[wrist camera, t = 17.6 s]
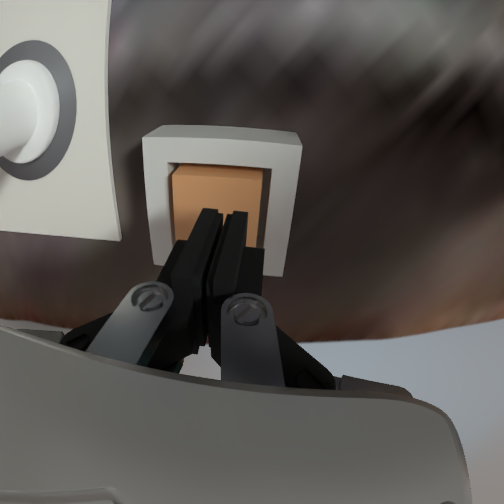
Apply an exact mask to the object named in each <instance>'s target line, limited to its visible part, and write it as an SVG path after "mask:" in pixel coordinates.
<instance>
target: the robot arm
mask: <svg viewBox="0 0 504 504" xmlns="http://www.w3.org/2000/svg"><path fill="white" fill-rule="evenodd" d="M247 225H248V212H243V211H233V213H232V214H227V216H226V219H225V222H224V225H223V213H218V209H212V208H203V209H202V210H201V213H200V215H199V217H198V219H197V221H196V223H195V225H194V227H193V229H192V231H191V233H190V235H189V238H188V240H180V239H179V240H177V241H176V243H175V245H174V247H173V249H172V251H171V253H170V255H169V257H168V259H167V261H166V263H165V265H164V267H163V269H162V271H161V273H160V275H159V277H158V279H157V281H149V282H144V283H141V284H138V285H137V286H135V287H133V288H132V289H131V290H130V291H129V292H128V294H127V295H126V296H125V298H124V299H123V300H122V302H121V303H120V304H119V306H118V307H117V308H116V310H115V311H114V312H112V313H110V314H108V315H106V316H103V317H101V318H99V319H96V320H94V321H92V322H89V323H87V324H85V325H82V326H80V327H78V328H75V329H73V330H71V331H70V332H68V333H67V334H66V335H64V333H63V332H59V331H43V330H29V329H17V330H15V329H12V328H8V327H4V326H0V504H472V496H471V487H470V481H469V474H468V469H467V464H466V459H465V455H464V451H463V447H462V444H461V441H460V438H459V435H458V433H457V430H456V428H455V426H454V424H453V422H452V421H451V419H450V418H449V417H448V415H447V414H446V413H444V412H443V411H442V410H441V409H439V408H437V407H436V406H434V405H432V404H429V403H427V402H424V401H421V400H418V399H415V398H413V397H412V395H411V393H409V392H408V391H407V390H406V389H405V388H402V387H399V386H394V385H389V384H384V383H379V382H373V381H368V380H364V379H359V378H354V377H350V376H346V375H343V376H342V378H339V377H335V376H333V375H332V374H331V373H330V372H329V371H328V369H327V368H325V367H324V366H323V365H322V364H321V363H319V362H318V361H317V360H316V359H315V358H313V357H312V356H311V355H310V354H309V353H307V352H306V351H305V350H304V349H303V348H302V347H300V346H299V345H298V344H297V343H296V342H295V341H293V340H292V339H291V338H290V337H289V336H287V335H286V334H285V333H284V332H283V331H282V330H281V329H279V328H278V327H277V326H276V325H275V319H274V313H273V309H272V306H271V304H270V303H269V302H268V301H267V300H266V299H264V298H263V297H261V290H262V279H263V267H264V255H265V248H256V247H246V238H247ZM207 336H208V338H209V347H211V357H212V358H213V359H214V360H215V361H216V363H217V364H218V365H219V366H220V367H221V380H214V379H208V378H202V377H195V376H189V375H183V374H179V373H180V370H181V368H182V366H183V362H184V358H185V357H186V356H189V355H190V354H198V349H199V346H205V344H206V340H207Z"/></svg>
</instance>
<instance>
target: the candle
mask: <svg viewBox="0 0 504 504" xmlns="http://www.w3.org/2000/svg"><path fill="white" fill-rule="evenodd" d="M59 112H60V103H59V94H58V89H57V86H56V83H55V81H54V79H53V77H52V75H51V73H50V72H49V70H48V69H47V68H46V67H45V66H44V65H42V64H41V63H39V62H37V61H34V60H22V61H17V62H15V63H13V64H11V65H9V66H8V67H6V68H5V69H4V70H3V71H2V72H1V74H0V157H2V156H4V157H5V158H6V159H8V160H9V161H12V162H14V163H27V162H30V161H33V160H34V159H36V158H38V157H39V156H40V155H42V154H43V153H44V152H45V151H46V149H47V148H48V147H49V145H50V144H51V142H52V140H53V138H54V136H55V133H56V130H57V126H58V121H59Z"/></svg>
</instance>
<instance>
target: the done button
mask: <svg viewBox="0 0 504 504" xmlns="http://www.w3.org/2000/svg"><path fill="white" fill-rule="evenodd" d="M262 176H263V168H260V167H248V166H235V165H220V164H202V163H182V164H181V165H180V166H179V167H178V168H177V170H176V171H175V172H174V173H173V174H172V186H173V207H174V224H175V238H176V241H177V240H179V239H180V240H188V238H189V235H190V233H191V231H192V229H193V227H194V225H195V223H196V221H197V219H198V217H199V215H200V213H201V210H202V209H203V208H212V209H218V213H223V225H224V222H225V219H226V216H227V214H232V213H233V211H243V212H248V225H247V238H246V247H256V241H257V231H258V220H259V210H260V199H261V189H262Z"/></svg>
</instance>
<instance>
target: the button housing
mask: <svg viewBox="0 0 504 504" xmlns="http://www.w3.org/2000/svg"><path fill="white" fill-rule="evenodd" d="M142 143H143V162H144V177H145V190H146V202H147V212H148V221H149V230H150V239H151V246H152V254H153V261H154V265H162V266H164V265H165V263H166V261H167V259H168V257H169V255H170V253H171V251H172V249H173V247H174V245H175V243H176V238H175V224H174V207H173V186H172V174H173V173H174V172H175V171H176V170H177V168H178V167H179V166H180V165H181V164H182V163H202V164H220V165H235V166H248V167H260V168H263V176H262V189H261V199H260V210H259V220H258V231H257V241H256V248H265V255H264V267H263V275H267V276H279V277H282V276H283V270H284V264H285V258H286V252H287V246H288V240H289V234H290V228H291V222H292V215H293V209H294V202H295V196H296V189H297V182H298V175H299V168H300V161H301V154H302V144H301V142H300V139H299V137H298V135H297V133H296V132H287V131H278V130H268V129H257V128H244V127H228V126H204V125H162V126H160V127H159V128H157V129H155V130H154V131H152V132H150V133H149V134H147V135H145V136H144V137H142Z"/></svg>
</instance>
